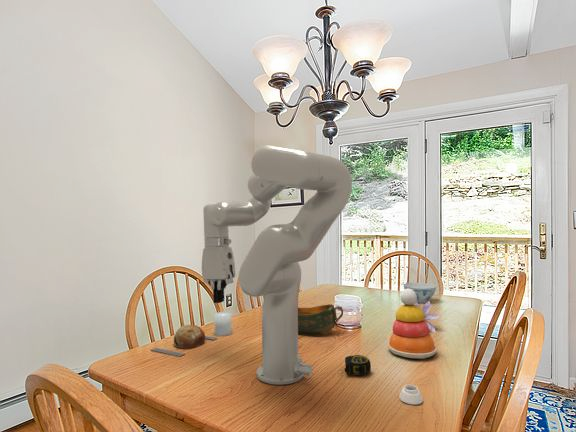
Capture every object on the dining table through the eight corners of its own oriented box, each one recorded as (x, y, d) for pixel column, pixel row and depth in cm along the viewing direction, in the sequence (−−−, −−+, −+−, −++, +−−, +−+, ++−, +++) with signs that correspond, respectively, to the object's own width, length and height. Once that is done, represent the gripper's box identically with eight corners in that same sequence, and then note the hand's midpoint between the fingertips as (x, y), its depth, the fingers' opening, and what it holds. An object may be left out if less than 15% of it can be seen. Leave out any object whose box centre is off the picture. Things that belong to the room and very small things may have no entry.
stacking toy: (440, 349, 113) (439, 286, 114) (432, 365, 101) (431, 295, 101) (394, 341, 121) (393, 283, 121) (382, 356, 108) (381, 290, 109)
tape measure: (345, 366, 101) (344, 353, 101) (370, 368, 100) (370, 354, 100) (344, 377, 95) (344, 363, 95) (371, 379, 93) (371, 364, 93)
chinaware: (397, 299, 183) (397, 283, 183) (422, 296, 187) (422, 281, 187) (416, 305, 169) (416, 289, 169) (443, 303, 173) (443, 287, 173)
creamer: (324, 343, 120) (324, 312, 120) (279, 331, 133) (279, 304, 133) (345, 333, 129) (345, 305, 130) (301, 323, 142) (301, 297, 142)
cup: (234, 331, 133) (234, 312, 133) (224, 336, 127) (223, 316, 127) (222, 329, 136) (221, 310, 136) (211, 334, 130) (210, 314, 130)
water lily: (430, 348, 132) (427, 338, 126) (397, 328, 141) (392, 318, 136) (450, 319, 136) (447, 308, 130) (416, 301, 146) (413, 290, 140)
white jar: (394, 399, 83) (413, 408, 79) (394, 386, 83) (413, 395, 79) (408, 393, 86) (427, 401, 82) (408, 380, 86) (427, 388, 82)
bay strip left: (184, 354, 111) (184, 353, 111) (180, 357, 109) (180, 356, 109) (156, 348, 116) (155, 347, 116) (151, 350, 114) (151, 349, 114)
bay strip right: (217, 338, 125) (217, 338, 125) (213, 340, 123) (213, 339, 123) (190, 334, 131) (190, 333, 131) (186, 335, 129) (186, 335, 129)
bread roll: (172, 353, 122) (163, 334, 119) (196, 333, 129) (187, 315, 126) (189, 361, 115) (180, 341, 113) (213, 339, 122) (205, 320, 120)
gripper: (243, 242, 114) (245, 301, 113) (205, 243, 121) (207, 298, 120) (229, 243, 107) (231, 306, 107) (190, 244, 114) (192, 303, 113)
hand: (218, 302), depth 113 cm, fingers closed
